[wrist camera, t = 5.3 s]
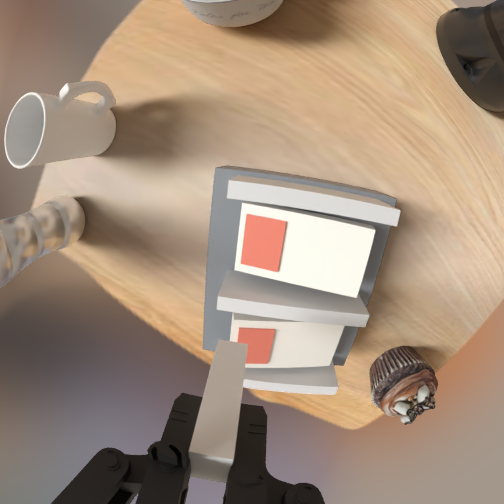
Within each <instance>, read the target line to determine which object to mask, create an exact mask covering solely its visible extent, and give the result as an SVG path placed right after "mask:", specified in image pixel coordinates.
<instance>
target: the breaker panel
mask: <svg viewBox="0 0 504 504" xmlns="http://www.w3.org/2000/svg"><path fill="white" fill-rule="evenodd" d="M245 201H253V202H260V203H267V204H272V205H277V206H283V207H288V208H293V209H298V210H303V211H308V212H313V213H318V214H323V215H328V216H332V217H337V218H342V219H346V220H350V221H355V222H359V223H364V224H368V225H372V226H373V227H374V228H375V234H374V239H373V243H372V246H371V250H370V254H369V258H368V261H367V265H366V268H365V272H364V275H363V279H362V282H361V285H360V289H359V292H358V295H357V298H355V297H350V296H345V295H341V294H336V293H332V292H327V291H323V290H318V289H314V288H309V287H305V286H300V285H296V284H292V283H287V282H283V281H279V280H274V279H270V278H266V277H262V276H257V275H253V274H249V273H245V272H241V271H237V270H234V269H235V260H236V251H237V242H238V234H239V225H240V216H241V208H242V203H243V202H245ZM395 204H396V198H393V197H391V196H388V195H386V194H383V193H381V192H378V191H374V190H370V189H365V188H361V187H356V186H352V185H347V184H342V183H337V182H332V181H327V180H321V179H316V178H310V177H305V176H299V175H292V174H286V173H279V172H273V171H265V170H258V169H250V168H242V167H233V166H221V167H216V168H215V175H214V184H213V195H212V205H211V216H210V228H209V241H208V254H207V269H206V286H205V305H204V329H203V349H204V350H210V351H215V350H216V346H217V342H218V339H221V340H226V341H230V333H231V324H232V314H233V312H235V313H242V314H248V315H255V316H262V317H270V318H277V319H285V320H294V321H302V322H311V323H321V324H331V325H342V326H344V329H343V332H342V334H341V337H340V340H339V343H338V345H337V348H336V350H335V353H334V356H333V358H332V361H331V363H330V365H329V366H318V367H296V368H245V373H244V381H243V387H245V388H252V389H260V390H269V391H278V392H290V393H304V394H324V395H335V393H336V391H337V389H338V387H339V386H338V382H337V377H336V373H335V369H334V365H340V366H343V365H344V363H345V361H346V358H347V356H348V354H349V351H350V349H351V347H352V344H353V342H354V339H355V337H356V334H357V332H358V329H359V327H365V326H366V324H367V321H368V318H369V316H370V315H369V313H368V311H367V309H366V307H367V305H368V302H369V299H370V296H371V293H372V290H373V287H374V284H375V281H376V277H377V274H378V271H379V267H380V264H381V261H382V257H383V253H384V250H385V246H386V242H387V239H388V235H389V231H390V226H391V225H392V226H396V227H397V224H398V220H399V216H400V211H401V210H399V209H397V208H395Z"/></svg>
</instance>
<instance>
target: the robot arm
mask: <svg viewBox="0 0 504 504" xmlns="http://www.w3.org/2000/svg"><path fill="white" fill-rule="evenodd" d="M436 34H437V40H438V44H439V48H440V51H441V53H442V56H443V58H444V60H445V62H446V65H447V66H448V68H449V70H450V72H451V74H452V75H453V77H454V78H455V80H456V81H457V83H458V84H459V85H460V87H461V88H462V89H463V90H464V92H465V93H466V94H467V95H468V96H469V97H470V98H471V99H472V100H473V101H474V102H475V103H477V104H478V105H479V106H481V107H482V108H484V109H486V110H489V111H492V112H503V111H504V0H496V1H494V2H493V3H491V4H489V5H487V6H485V7H469V8H454V9H451V10H449V11H448V12H446V13H445V14H443V15H442V16H441V17H440V18H439V20H438V22H437V27H436ZM247 348H248V344H244V343H238V342H232V341H226V340H221V339H218V342H217V346H216V350H215V354H214V357H213V361H212V365H211V368H210V372H209V376H208V380H207V383H206V387H205V391H204V395H203V397H199V396H194V395H189V394H185V393H182V394H181V395H180V396H179V397H178V398H177V399H176V400H175V401H174V404H173V407H172V410H171V412H170V415H169V419H168V421H167V424H166V427H165V430H164V432H163V435H162V438H161V441H158V442H155V443H154V444H152V445H151V446H150V447H149V448H148V450H147V451H148V454H147V455H127V454H124V453H123V452H121V451H120V450H117V449H115V448H105V449H102V450H101V451H99V452H98V453H97V454H96V455H95V456H94V457H93V458H92V459H91V460H90V461H89V463H88V464H87V465H86V466H85V467H84V468H83V469H82V470H81V471H80V473H79V474H78V475H77V476H76V477H75V478H74V479H73V480H72V481H71V482H70V484H69V485H68V486H67V487H66V488H65V489H64V490H63V491H62V492H61V494H60V495H59V496H58V497H57V498H56V499H55V500H54V501H53V502H52V504H130V503H131V502H132V500H133V499H134V497H135V496H136V495H137V493H139V495H138V498H137V501H136V504H185V501H186V496H187V492H188V483H189V478H190V476H191V477H196V478H201V479H206V480H211V481H217V482H224V483H226V490H225V494H224V497H223V504H325V502H324V501H323V497H322V495H321V492H320V491H319V489H318V488H317V487H315V486H314V485H312V484H308V483H298V484H296V485H293V484H289V483H286V482H283V481H280V480H278V479H276V478H274V477H273V476H271V475H270V474H269V472H268V471H267V468H266V463H265V461H266V434H267V415H266V412H265V410H264V408H263V406H255V405H248V404H241V397H242V389H243V381H244V373H245V365H246V357H247Z"/></svg>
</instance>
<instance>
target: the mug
mask: <svg viewBox="0 0 504 504" xmlns="http://www.w3.org/2000/svg"><path fill="white" fill-rule="evenodd" d="M87 92H96V93H99V94H100V95H102V99H101V100H100V101H99V102H98V103H97V104H95V103H90V102H85V101H81V100H76V99H73V98H75V97H77V96H78V95H81V94H83V93H87ZM115 104H116V99H115V97H114V95H113V93H112V91H111V89H110V88H109V87H108V86H107V85H106V84H105V83H102V82H99V81H84V82H78V83H66V85H65V86H64V87H63V89H62V90H61V91H60V95H59V96H55V95H49V94H42V93H35V92H30V93H27V94H26V95H24V96H22V97H21V98H20V99H19V100H18V101H17V103H16V104H15V106H14V107H13V109H12V111H11V113H10V116H9V118H8V121H7V125H6V130H5V150H6V155H7V158H8V160H9V162H10V163H11V164H12V165H13V166H14V167H16V168H24V167H29V166H35V165H40V164H46V163H51V162H57V161H62V160H69V159H75V158H83V157H90V156H96V155H99V154H101V153H103V152H104V151H106V150H107V149H108V147H109V146H110V145H111V143H112V141H113V139H114V136H115V132H116V120H115V116H114V114H113V112H112V111H111V110H110V108H111V107H113V106H114V105H115Z"/></svg>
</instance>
